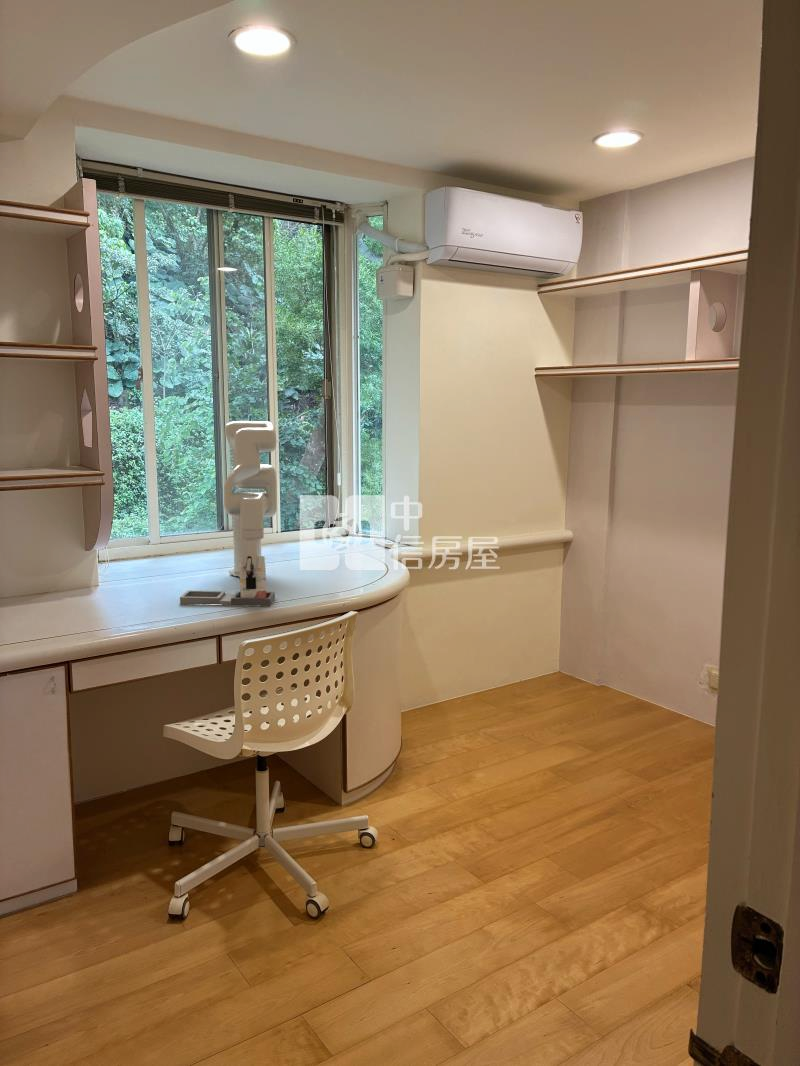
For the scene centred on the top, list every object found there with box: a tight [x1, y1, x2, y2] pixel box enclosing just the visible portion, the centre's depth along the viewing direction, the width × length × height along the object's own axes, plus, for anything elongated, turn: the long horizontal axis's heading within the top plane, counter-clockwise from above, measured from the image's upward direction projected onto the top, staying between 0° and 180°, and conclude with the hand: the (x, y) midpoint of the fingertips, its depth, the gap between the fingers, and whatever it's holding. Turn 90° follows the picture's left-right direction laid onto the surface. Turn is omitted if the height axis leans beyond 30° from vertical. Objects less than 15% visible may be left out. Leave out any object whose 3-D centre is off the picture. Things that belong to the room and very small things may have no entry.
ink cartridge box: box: [239, 555, 267, 598], centre depth 266 cm, size 9×5×15 cm, turn 101°
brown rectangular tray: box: [179, 590, 226, 605], centre depth 267 cm, size 9×13×2 cm
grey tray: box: [219, 591, 276, 607], centre depth 267 cm, size 9×17×2 cm, turn 89°
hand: (253, 586), depth 266 cm, fingers closed on ink cartridge box, 5 cm apart
